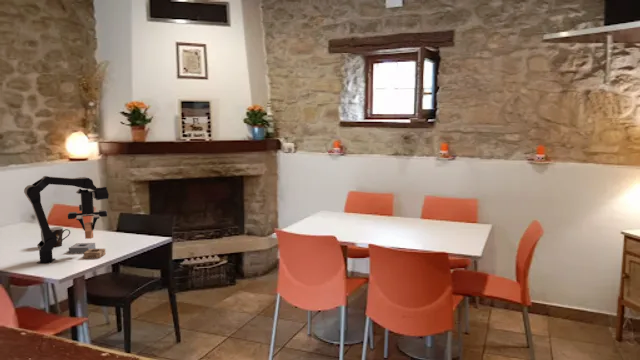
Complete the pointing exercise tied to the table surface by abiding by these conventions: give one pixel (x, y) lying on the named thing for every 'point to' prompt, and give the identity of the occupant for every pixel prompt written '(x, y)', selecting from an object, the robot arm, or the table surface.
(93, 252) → the tan flat square block
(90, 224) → the peg
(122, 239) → the table surface
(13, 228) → the table surface
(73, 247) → the port
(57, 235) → the coffee mug
